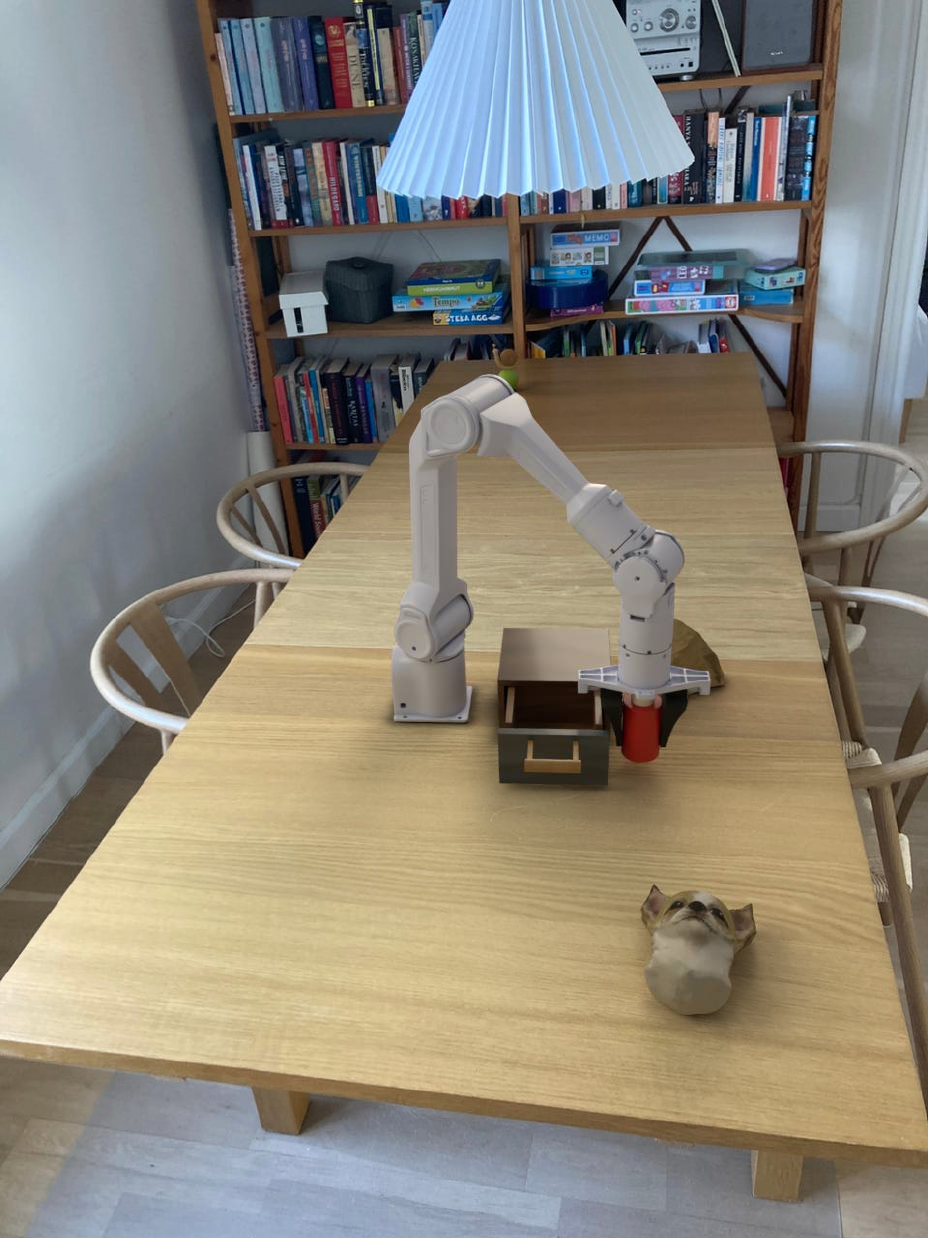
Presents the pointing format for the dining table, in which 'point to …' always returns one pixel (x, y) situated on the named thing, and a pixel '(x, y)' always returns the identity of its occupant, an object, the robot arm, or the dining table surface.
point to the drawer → (553, 737)
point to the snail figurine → (507, 366)
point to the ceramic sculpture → (693, 948)
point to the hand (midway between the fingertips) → (640, 742)
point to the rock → (694, 653)
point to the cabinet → (549, 659)
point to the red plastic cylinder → (641, 728)
